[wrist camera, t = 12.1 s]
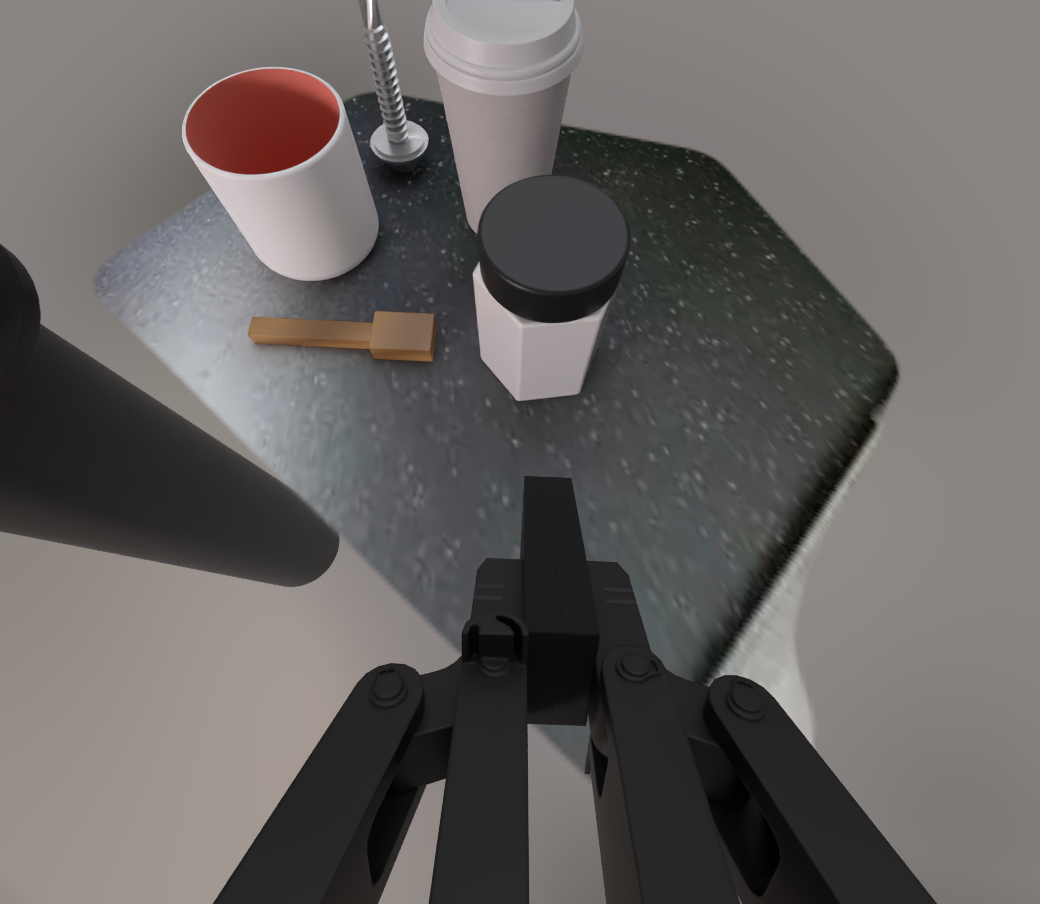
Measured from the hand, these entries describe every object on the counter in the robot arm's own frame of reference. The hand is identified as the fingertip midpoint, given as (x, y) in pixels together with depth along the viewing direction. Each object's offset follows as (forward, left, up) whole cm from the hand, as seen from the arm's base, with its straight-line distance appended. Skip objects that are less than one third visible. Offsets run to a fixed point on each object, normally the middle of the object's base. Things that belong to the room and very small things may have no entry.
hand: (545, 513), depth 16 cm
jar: (0, +16, -16) cm, 23 cm away
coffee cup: (-3, +29, -16) cm, 34 cm away
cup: (-18, +26, -16) cm, 35 cm away
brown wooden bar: (-14, +16, -16) cm, 27 cm away
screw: (-12, +35, -16) cm, 40 cm away
